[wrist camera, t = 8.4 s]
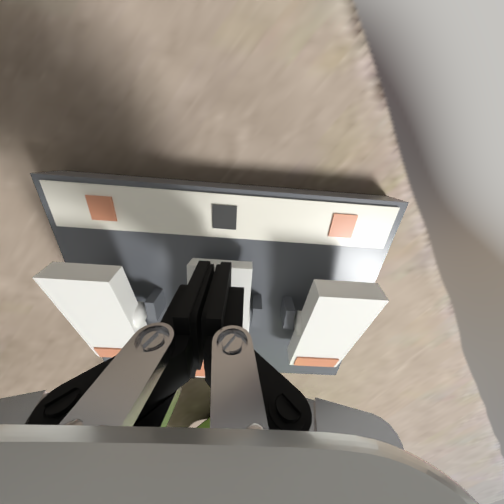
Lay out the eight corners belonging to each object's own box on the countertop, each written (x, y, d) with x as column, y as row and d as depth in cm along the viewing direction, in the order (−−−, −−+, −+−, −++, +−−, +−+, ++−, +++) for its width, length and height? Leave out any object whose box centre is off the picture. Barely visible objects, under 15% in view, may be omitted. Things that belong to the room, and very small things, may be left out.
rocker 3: (309, 271, 11) (317, 297, 10) (374, 275, 11) (392, 302, 10) (285, 341, 16) (287, 366, 15) (330, 343, 16) (337, 368, 15)
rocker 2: (193, 254, 12) (184, 265, 11) (253, 258, 13) (254, 270, 11) (195, 355, 15) (187, 378, 13) (245, 357, 15) (245, 380, 13)
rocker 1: (59, 254, 11) (28, 279, 9) (129, 258, 11) (109, 283, 10) (111, 333, 16) (95, 358, 14) (159, 335, 16) (149, 360, 14)
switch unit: (62, 170, 12) (-3, 175, 9) (387, 196, 13) (429, 209, 10) (118, 345, 19) (93, 381, 16) (328, 355, 20) (342, 392, 17)
